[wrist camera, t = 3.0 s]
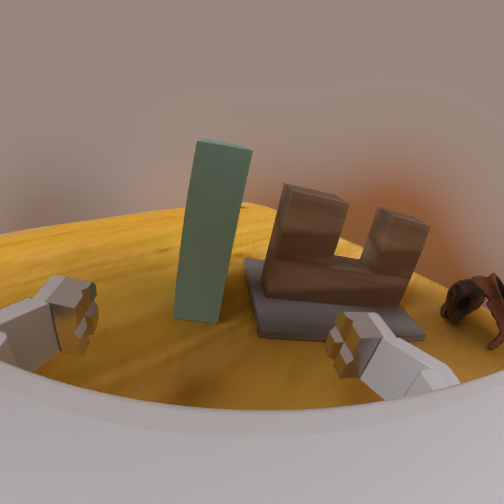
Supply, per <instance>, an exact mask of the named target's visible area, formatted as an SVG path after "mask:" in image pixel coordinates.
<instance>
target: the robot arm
mask: <svg viewBox="0 0 504 504" xmlns="http://www.w3.org/2000/svg"><path fill="white" fill-rule="evenodd" d="M96 295H97V292H96V285H95V284H94V282H89V281H84V280H80V279H75V278H70V277H66V276H61V275H52V277H51V278H50V279H49V280H48V281H47V282H46V283H45V284H44V286H43V287H42V288H41V289H40V290H39V291H38V292H37V294H36V295H35V296H34V297H33V298H32V299H31V298H27V299H24V300H22V301H19V302H17V303H14V304H12V305H9V306H7V307H4V308H2V309H0V504H504V369H503V370H500V371H497V372H495V373H492V374H489V375H486V376H483V377H480V378H477V379H474V380H470V381H467V382H464V383H461V382H460V381H459V379H458V378H457V377H456V376H455V374H454V373H453V372H452V370H451V369H450V368H449V367H448V365H446V364H444V363H443V362H441V361H439V360H437V359H436V358H434V357H432V356H431V355H429V354H427V353H425V352H424V351H422V350H420V349H418V348H417V347H415V346H413V345H411V344H410V343H408V342H406V341H404V340H403V339H401V338H396V336H395V335H394V334H393V332H392V331H391V330H390V329H389V327H388V326H387V325H386V323H385V322H384V321H383V320H382V318H381V317H380V316H379V315H378V314H377V313H375V312H338V314H337V315H336V317H335V319H334V324H335V327H334V328H333V329H332V330H330V331H329V334H328V336H327V339H326V350H327V353H328V355H329V357H330V358H332V359H333V360H334V361H335V362H334V364H333V366H334V368H335V370H336V372H337V375H338V377H339V378H360V379H361V380H362V381H363V382H364V383H365V384H366V385H367V386H369V387H370V388H371V389H372V390H373V391H374V392H375V393H377V394H378V395H379V396H380V397H381V398H382V399H383V400H385V401H379V402H372V403H365V404H357V405H348V406H339V407H327V408H313V409H293V410H237V409H216V408H202V407H191V406H181V405H173V404H165V403H158V402H151V401H144V400H138V399H133V398H127V397H122V396H117V395H112V394H107V393H103V392H98V391H94V390H90V389H86V388H82V387H78V386H74V385H71V384H67V383H64V382H60V381H57V380H53V379H50V378H47V377H44V376H41V375H38V374H35V373H32V372H34V371H35V370H37V369H38V368H39V367H41V366H42V365H43V364H45V363H46V362H47V361H49V360H50V359H52V358H53V357H54V356H56V355H57V354H59V353H60V351H63V352H67V353H72V354H76V355H81V356H84V354H85V351H86V349H87V347H88V345H89V343H90V341H89V336H90V335H92V334H94V332H95V330H96V327H97V322H98V306H97V304H96V303H95V302H94V298H95V297H96Z"/></svg>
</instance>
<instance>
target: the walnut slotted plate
mask: <svg viewBox="0 0 504 504" xmlns="http://www.w3.org/2000/svg"><path fill="white" fill-rule="evenodd" d="M348 208H349V204H348V203H347V202H346V201H344V200H342V199H341V198H339V197H337V196H336V195H333V194H329V193H325V192H320V191H316V190H312V189H308V188H303V187H299V186H294V185H290V184H285V183H284V186H283V190H282V194H281V198H280V202H279V206H278V210H277V214H276V218H275V222H274V226H273V230H272V234H271V238H270V242H269V246H268V250H267V254H266V258H265V261H264V260H257V259H250V258H244V268H245V272H246V277H247V282H248V287H249V291H250V296H251V301H252V305H253V310H254V315H255V319H256V324H257V329H258V333H259V337H262V338H275V339H291V340H312V341H326V339H327V336H328V334H329V331H330V330H332V329H333V328H334V327H335V324H334V319H335V317H336V315H337V314H338V312H375V313H377V314H378V315H379V316H380V317H381V318H382V320H383V321H384V322H385V323H386V325H387V326H388V327H389V329H390V330H391V331H392V332H393V334H394V335H395V336H396V338H401V339H403V340H404V341H419V340H424V338H425V336H426V335H425V334H424V332H423V331H422V330H421V329H420V328H419V327H418V325H417V324H416V323H415V322H414V321H413V320H412V319H411V317H410V316H409V315H408V314H407V313H406V312H405V311H404V309H403V308H402V307H401V306H400V305H399V303H400V301H401V299H402V297H403V294H404V292H405V290H406V288H407V285H408V283H409V281H410V279H411V276H412V274H413V272H414V269H415V267H416V264H417V262H418V259H419V257H420V254H421V251H422V249H423V246H424V244H425V241H426V238H427V235H428V232H429V230H430V226H428V225H427V224H425V223H423V222H422V221H420V220H418V219H416V218H415V217H413V216H409V215H406V214H403V213H399V212H396V211H392V210H389V209H385V208H382V207H377V210H376V213H375V216H374V220H373V223H372V226H371V229H370V232H369V235H368V238H367V241H366V243H365V246H364V249H363V252H362V255H361V258H360V259H354V258H347V257H341V256H335V255H334V253H335V250H336V246H337V243H338V240H339V237H340V234H341V231H342V227H343V224H344V221H345V218H346V214H347V211H348Z"/></svg>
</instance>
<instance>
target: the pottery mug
mask: <svg viewBox="0 0 504 504" xmlns="http://www.w3.org/2000/svg"><path fill="white" fill-rule="evenodd" d="M485 297H486V298H487V299H488V300H489V301H488V302H487V306H488V308H489V309H490V311H491V314H492V316H493V317H494V318H495V320H496V323H497V326H498V328H499V330H500V332H499V334H498V335H497V337H496V338H495V339H494V340H493V341H492V342H490V343H489V345H488V349H489V350H493V349H494V348H496V347H497V346H498V345H499V344H502V343H503V341H504V285H503V283H502V282H501V280H500V279H499V278H498V276H496V274H495V273H492V274H491V275H490V276H488V277H484V276H476V277H472V278H471V279H466V280H461V281H458V282H456V283H454V284H453V285H452V286H451V287H450V289H449V291H448V293H447V297H446V302H445V303H444V304H443V305H442V307H441V316H442V317H444V316H445V315H446V314H447V313H448V319H449V320H450V321H451V322H452V323H454V324H455V325H457V324H458V323H459V322H460V321H461V320H462V319H463V318H464V317H465V316H466V315H468V314H470V313H471V312H472V311H474V310H476V309H478V308H479V307H480V306H481V304H482V303H483V302H484V300H485Z"/></svg>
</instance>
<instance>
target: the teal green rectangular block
mask: <svg viewBox="0 0 504 504" xmlns="http://www.w3.org/2000/svg"><path fill="white" fill-rule="evenodd" d="M252 152H253V151H252V150H250V149H249V148H247V147H245V146H243V145H238V144H233V143H227V142H222V141H216V140H210V139H203V138H202V139H200V140H198V141H197V145H196V150H195V155H194V161H193V166H192V172H191V178H190V184H189V191H188V196H187V203H186V210H185V217H184V224H183V231H182V239H181V247H180V255H179V263H178V272H177V282H176V292H175V303H174V315H173V318H177V319H185V320H192V321H200V322H208V323H216V324H218V319H219V314H220V309H221V303H222V298H223V293H224V288H225V283H226V277H227V272H228V267H229V262H230V257H231V252H232V247H233V242H234V237H235V232H236V228H237V223H238V218H239V213H240V208H241V203H242V199H243V194H244V189H245V184H246V180H247V175H248V171H249V166H250V161H251V156H252Z"/></svg>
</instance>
